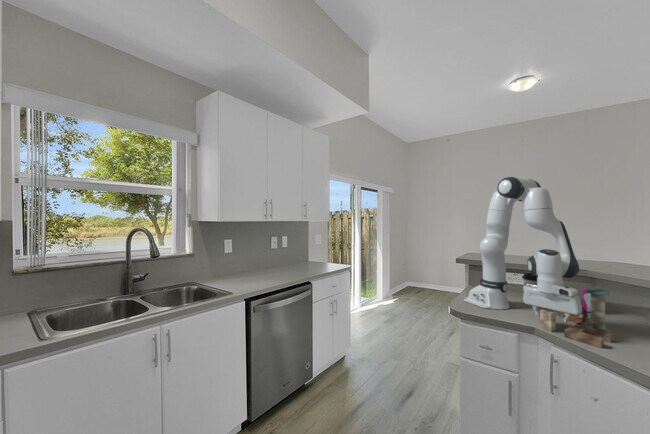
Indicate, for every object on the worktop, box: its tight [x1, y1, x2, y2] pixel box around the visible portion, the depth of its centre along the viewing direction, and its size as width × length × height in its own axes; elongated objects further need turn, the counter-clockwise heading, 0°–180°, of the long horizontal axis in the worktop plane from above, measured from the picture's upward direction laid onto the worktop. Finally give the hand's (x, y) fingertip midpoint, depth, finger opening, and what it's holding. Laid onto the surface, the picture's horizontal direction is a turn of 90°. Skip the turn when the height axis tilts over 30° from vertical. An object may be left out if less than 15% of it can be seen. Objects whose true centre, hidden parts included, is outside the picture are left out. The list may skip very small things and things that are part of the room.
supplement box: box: [582, 287, 591, 314], centre depth 142 cm, size 6×6×12 cm
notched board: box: [564, 323, 614, 349], centre depth 111 cm, size 11×12×3 cm
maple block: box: [539, 308, 557, 333], centre depth 121 cm, size 4×4×8 cm
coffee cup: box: [521, 272, 538, 286], centre depth 161 cm, size 11×11×15 cm
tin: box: [555, 305, 589, 324], centre depth 131 cm, size 15×3×8 cm, turn 1°
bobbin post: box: [585, 287, 610, 332], centre depth 117 cm, size 7×7×18 cm
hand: (551, 319), depth 120 cm, fingers open, 8 cm apart
